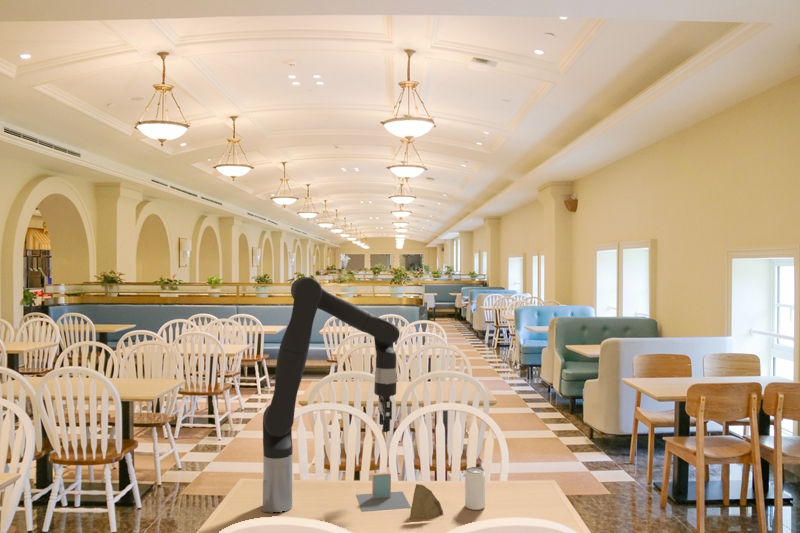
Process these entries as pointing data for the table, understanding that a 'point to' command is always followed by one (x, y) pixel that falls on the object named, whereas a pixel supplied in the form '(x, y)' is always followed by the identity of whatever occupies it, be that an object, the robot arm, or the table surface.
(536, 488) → the table surface
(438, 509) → the rock
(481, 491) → the can
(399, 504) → the mat
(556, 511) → the table surface
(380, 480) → the tile
